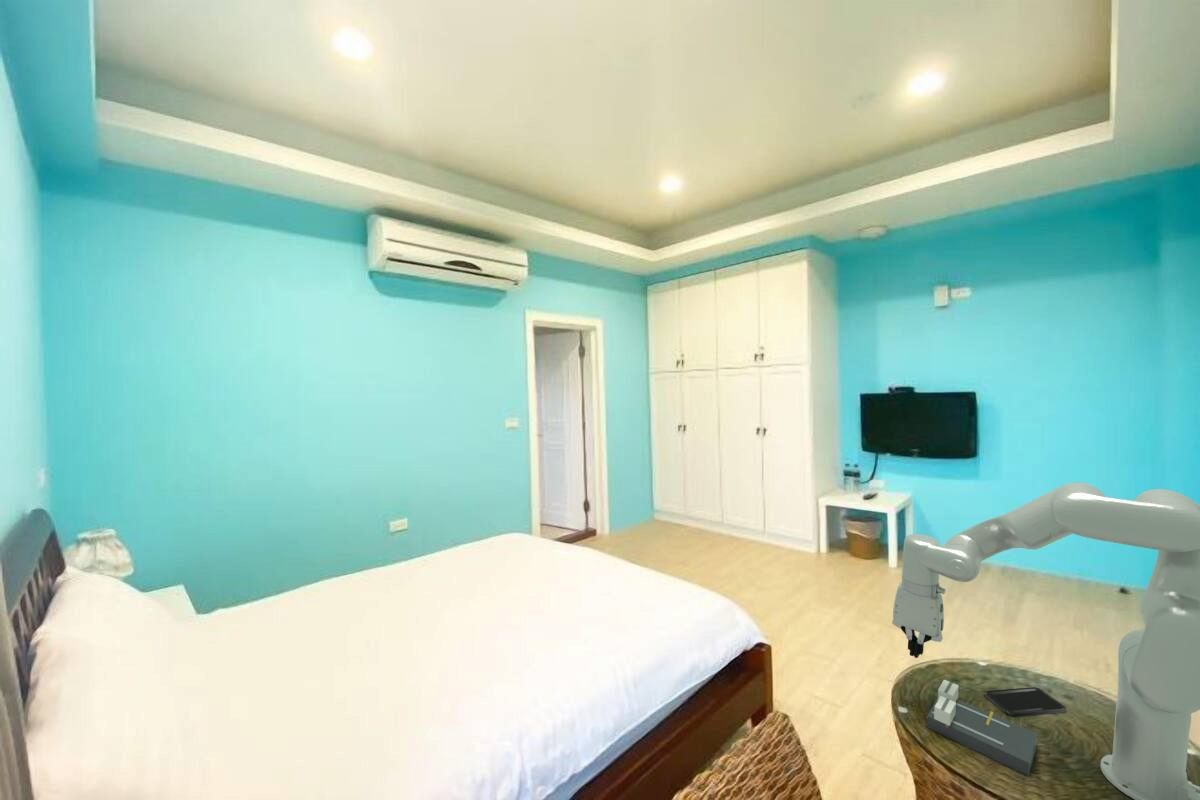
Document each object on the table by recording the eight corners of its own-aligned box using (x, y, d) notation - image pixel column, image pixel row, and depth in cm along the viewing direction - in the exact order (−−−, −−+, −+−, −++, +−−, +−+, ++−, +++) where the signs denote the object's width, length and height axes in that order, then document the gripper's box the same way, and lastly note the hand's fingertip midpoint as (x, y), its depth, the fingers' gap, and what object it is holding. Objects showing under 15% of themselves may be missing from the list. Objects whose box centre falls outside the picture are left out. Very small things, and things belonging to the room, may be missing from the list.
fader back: (958, 697, 118) (958, 685, 118) (952, 707, 115) (953, 695, 114) (943, 690, 120) (944, 679, 120) (937, 701, 117) (938, 689, 116)
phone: (981, 691, 123) (1037, 686, 124) (981, 695, 123) (1037, 690, 124) (1009, 714, 115) (1069, 709, 116) (1009, 719, 115) (1068, 713, 116)
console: (1037, 743, 108) (1038, 730, 107) (1027, 778, 99) (1028, 764, 99) (941, 701, 121) (941, 690, 121) (925, 729, 113) (926, 717, 112)
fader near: (955, 714, 113) (956, 702, 112) (949, 726, 109) (950, 713, 109) (940, 707, 115) (940, 695, 114) (934, 718, 111) (934, 706, 111)
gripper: (960, 591, 116) (955, 661, 119) (891, 570, 127) (887, 635, 130) (951, 603, 111) (946, 676, 114) (880, 580, 123) (877, 647, 125)
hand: (915, 654), depth 122 cm, fingers closed
